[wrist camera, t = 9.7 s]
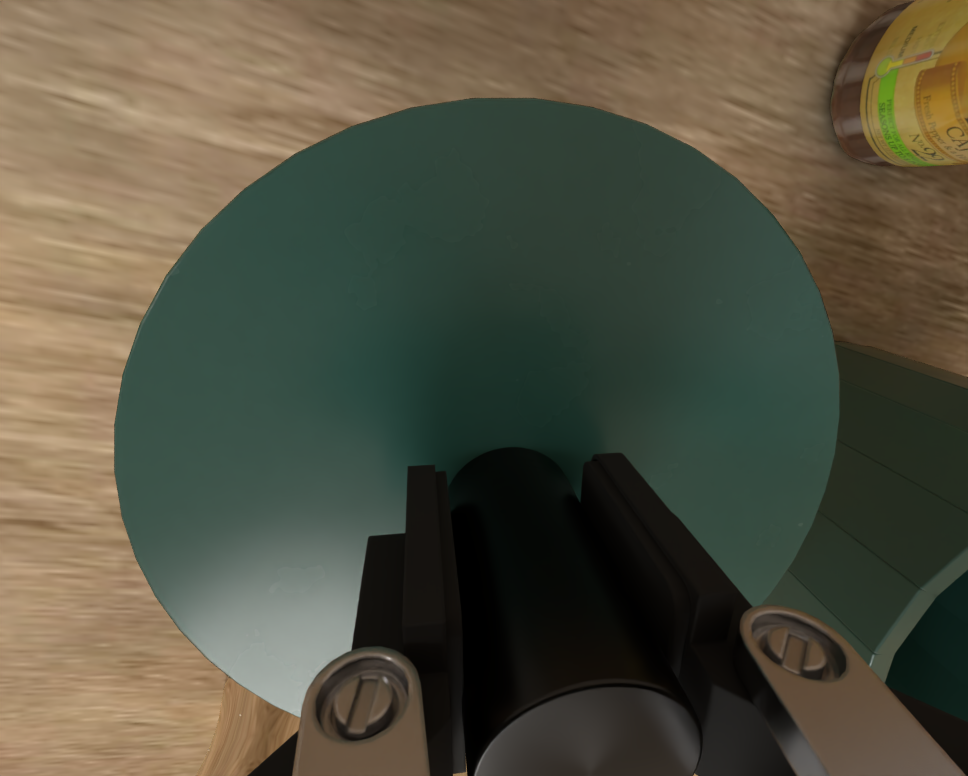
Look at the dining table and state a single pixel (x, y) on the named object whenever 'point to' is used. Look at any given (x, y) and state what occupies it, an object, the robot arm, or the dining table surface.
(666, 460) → the tin lid
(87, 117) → the dining table surface
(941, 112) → the sauce bottle
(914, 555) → the tin
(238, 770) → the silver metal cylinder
